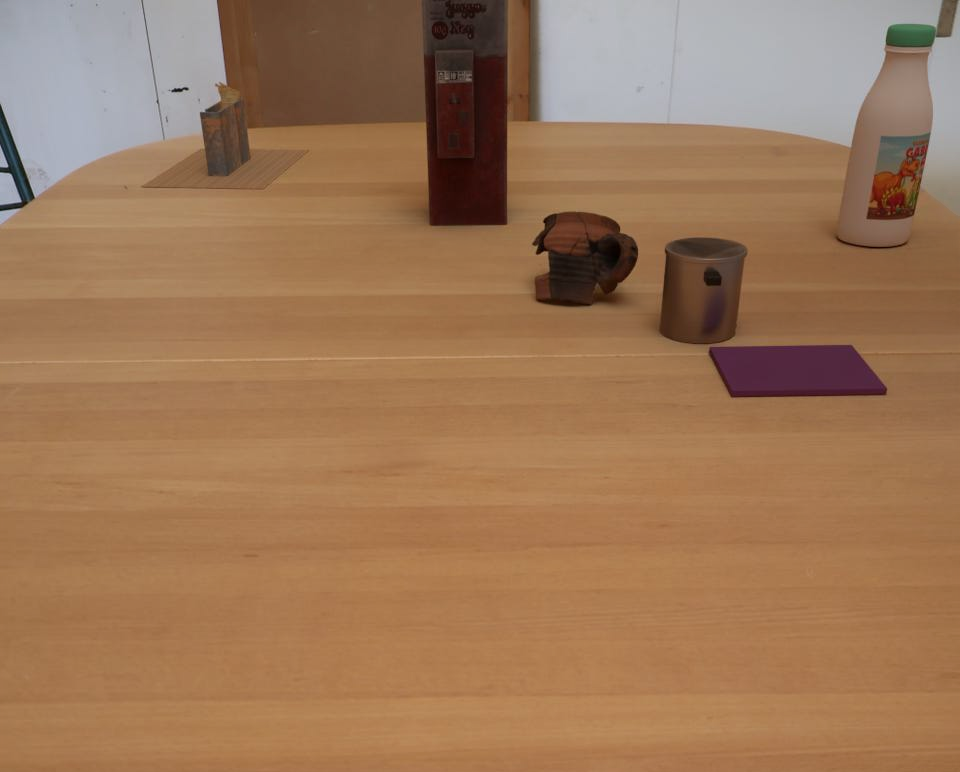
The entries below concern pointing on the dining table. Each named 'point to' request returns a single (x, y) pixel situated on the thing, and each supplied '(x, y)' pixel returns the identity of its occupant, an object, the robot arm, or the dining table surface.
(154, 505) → the dining table surface
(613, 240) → the pottery mug
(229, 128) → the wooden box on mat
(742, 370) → the flat purple board
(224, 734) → the dining table surface
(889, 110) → the milk bottle
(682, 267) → the pot
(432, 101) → the toy vending machine
